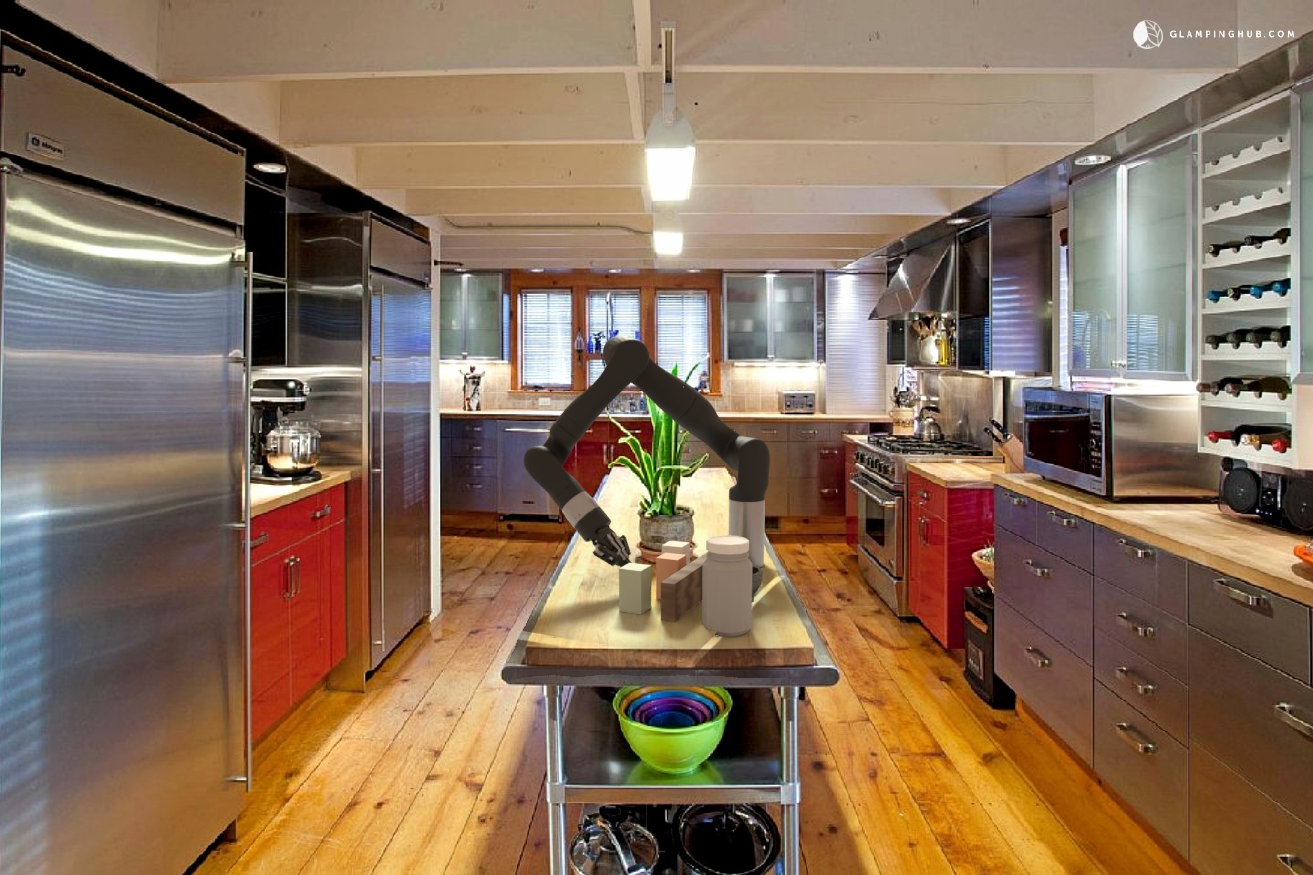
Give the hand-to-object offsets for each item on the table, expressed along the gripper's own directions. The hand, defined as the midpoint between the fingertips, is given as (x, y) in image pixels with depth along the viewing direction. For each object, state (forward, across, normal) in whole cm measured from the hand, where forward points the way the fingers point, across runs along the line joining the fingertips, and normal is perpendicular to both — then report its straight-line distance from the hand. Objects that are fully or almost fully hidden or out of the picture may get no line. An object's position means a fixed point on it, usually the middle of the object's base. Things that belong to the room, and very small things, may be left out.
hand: (634, 575), depth 171 cm
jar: (+22, -11, -14) cm, 28 cm away
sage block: (+6, -11, -1) cm, 12 cm away
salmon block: (+9, 0, -4) cm, 9 cm away
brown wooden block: (+9, 0, -1) cm, 9 cm away
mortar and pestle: (+19, +7, -12) cm, 24 cm away
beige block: (+6, +11, -1) cm, 13 cm away
